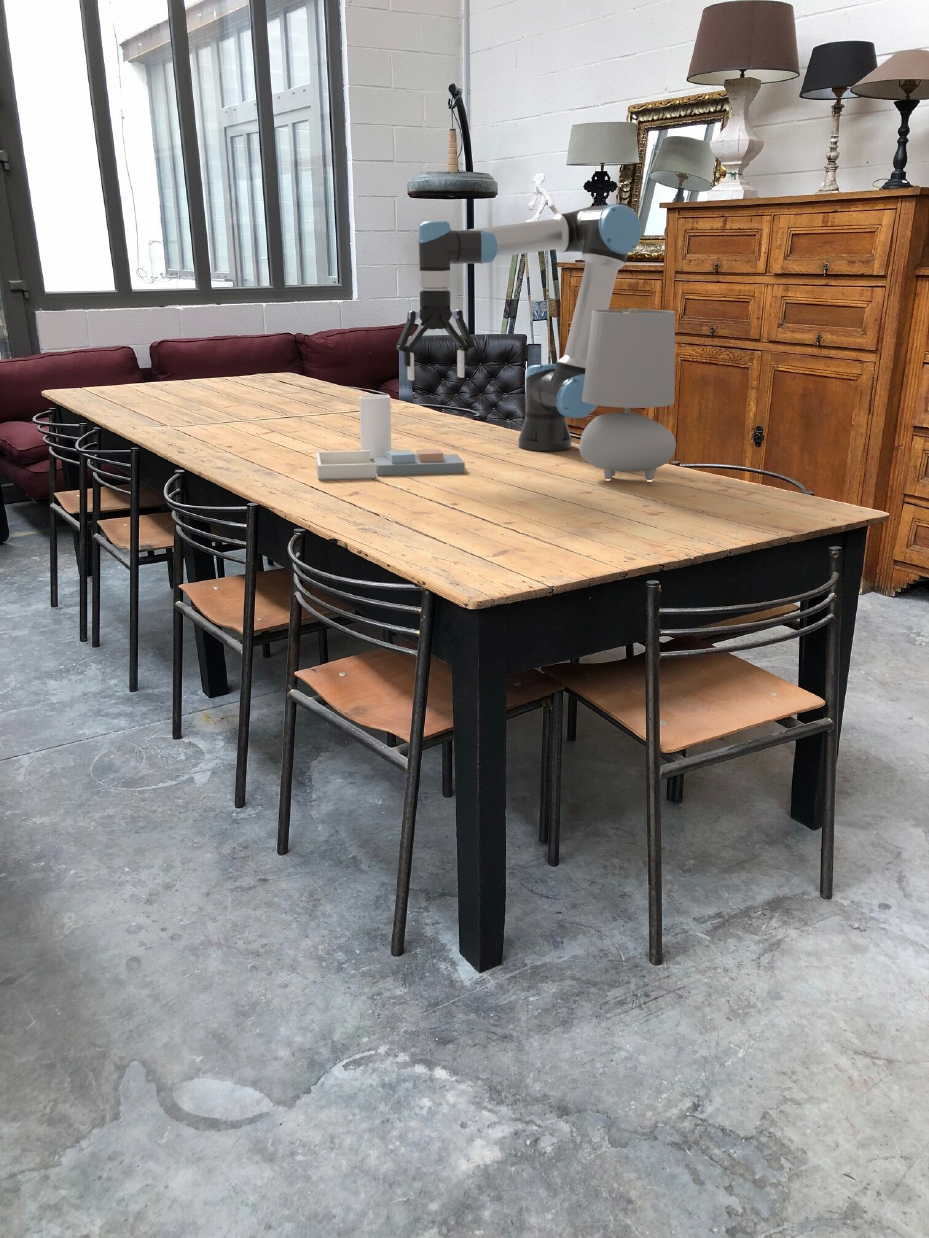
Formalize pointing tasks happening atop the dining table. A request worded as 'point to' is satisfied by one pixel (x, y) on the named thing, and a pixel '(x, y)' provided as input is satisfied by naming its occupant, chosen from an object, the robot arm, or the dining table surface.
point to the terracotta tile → (429, 455)
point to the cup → (375, 424)
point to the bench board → (420, 466)
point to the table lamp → (629, 389)
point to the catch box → (345, 465)
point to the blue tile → (400, 456)
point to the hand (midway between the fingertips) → (436, 378)
